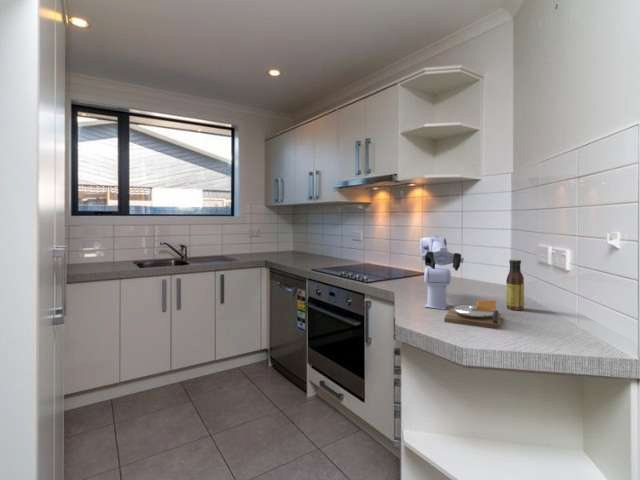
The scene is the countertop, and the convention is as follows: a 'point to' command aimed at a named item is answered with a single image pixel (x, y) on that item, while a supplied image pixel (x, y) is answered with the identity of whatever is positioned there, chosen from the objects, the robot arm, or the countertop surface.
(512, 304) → the sauce bottle
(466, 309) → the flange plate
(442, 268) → the robot arm
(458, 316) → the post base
